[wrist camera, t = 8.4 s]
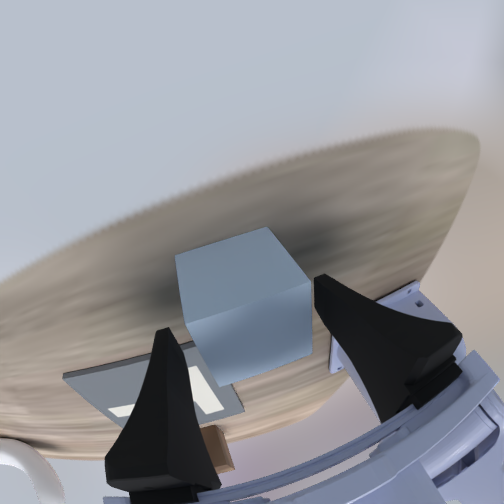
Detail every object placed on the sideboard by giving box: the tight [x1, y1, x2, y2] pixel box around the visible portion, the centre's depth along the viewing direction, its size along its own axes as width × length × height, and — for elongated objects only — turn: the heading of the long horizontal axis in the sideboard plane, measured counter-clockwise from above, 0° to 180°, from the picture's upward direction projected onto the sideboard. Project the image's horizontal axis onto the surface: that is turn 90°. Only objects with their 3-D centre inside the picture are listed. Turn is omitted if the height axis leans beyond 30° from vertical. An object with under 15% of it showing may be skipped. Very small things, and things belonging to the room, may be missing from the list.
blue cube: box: [175, 227, 312, 387], centre depth 14 cm, size 5×5×5 cm
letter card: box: [62, 341, 245, 428], centre depth 19 cm, size 12×12×1 cm
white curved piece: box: [0, 438, 65, 504], centre depth 13 cm, size 5×19×15 cm, turn 93°
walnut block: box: [200, 425, 235, 474], centre depth 23 cm, size 5×5×4 cm
